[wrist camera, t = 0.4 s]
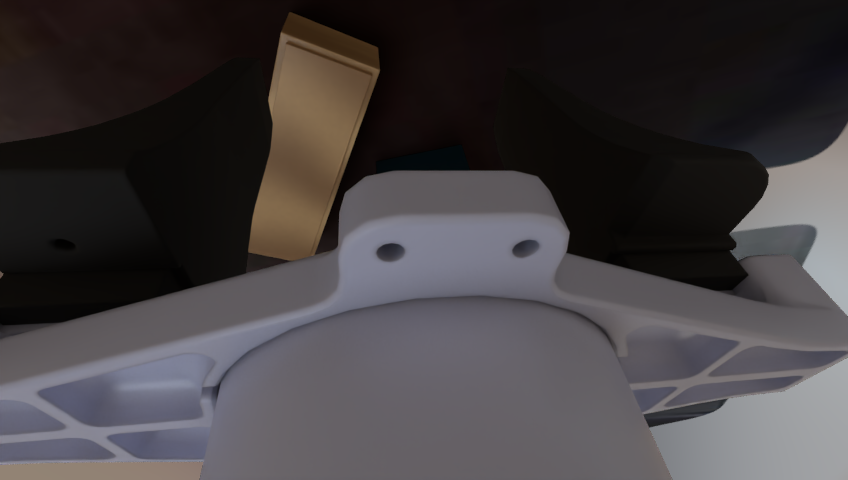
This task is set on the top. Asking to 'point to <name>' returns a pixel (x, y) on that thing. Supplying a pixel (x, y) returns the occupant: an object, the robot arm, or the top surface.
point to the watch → (427, 161)
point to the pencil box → (310, 133)
